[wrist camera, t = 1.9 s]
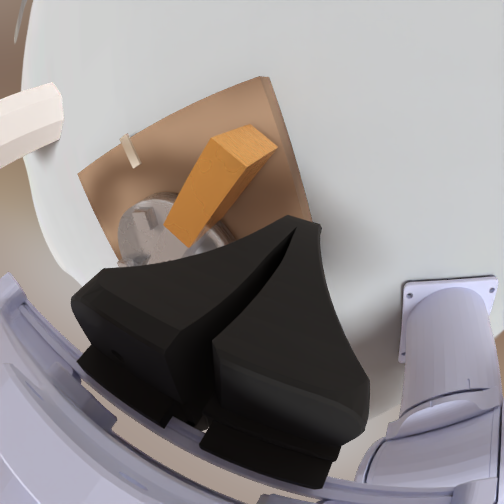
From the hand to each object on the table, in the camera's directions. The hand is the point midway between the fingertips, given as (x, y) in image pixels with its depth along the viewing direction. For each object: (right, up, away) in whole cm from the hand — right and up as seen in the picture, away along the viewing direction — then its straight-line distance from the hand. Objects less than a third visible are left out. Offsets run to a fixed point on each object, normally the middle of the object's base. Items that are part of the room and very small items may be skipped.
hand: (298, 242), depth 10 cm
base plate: (-7, 0, +14) cm, 16 cm away
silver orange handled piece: (-6, +1, +10) cm, 12 cm away
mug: (-28, +18, +13) cm, 36 cm away
